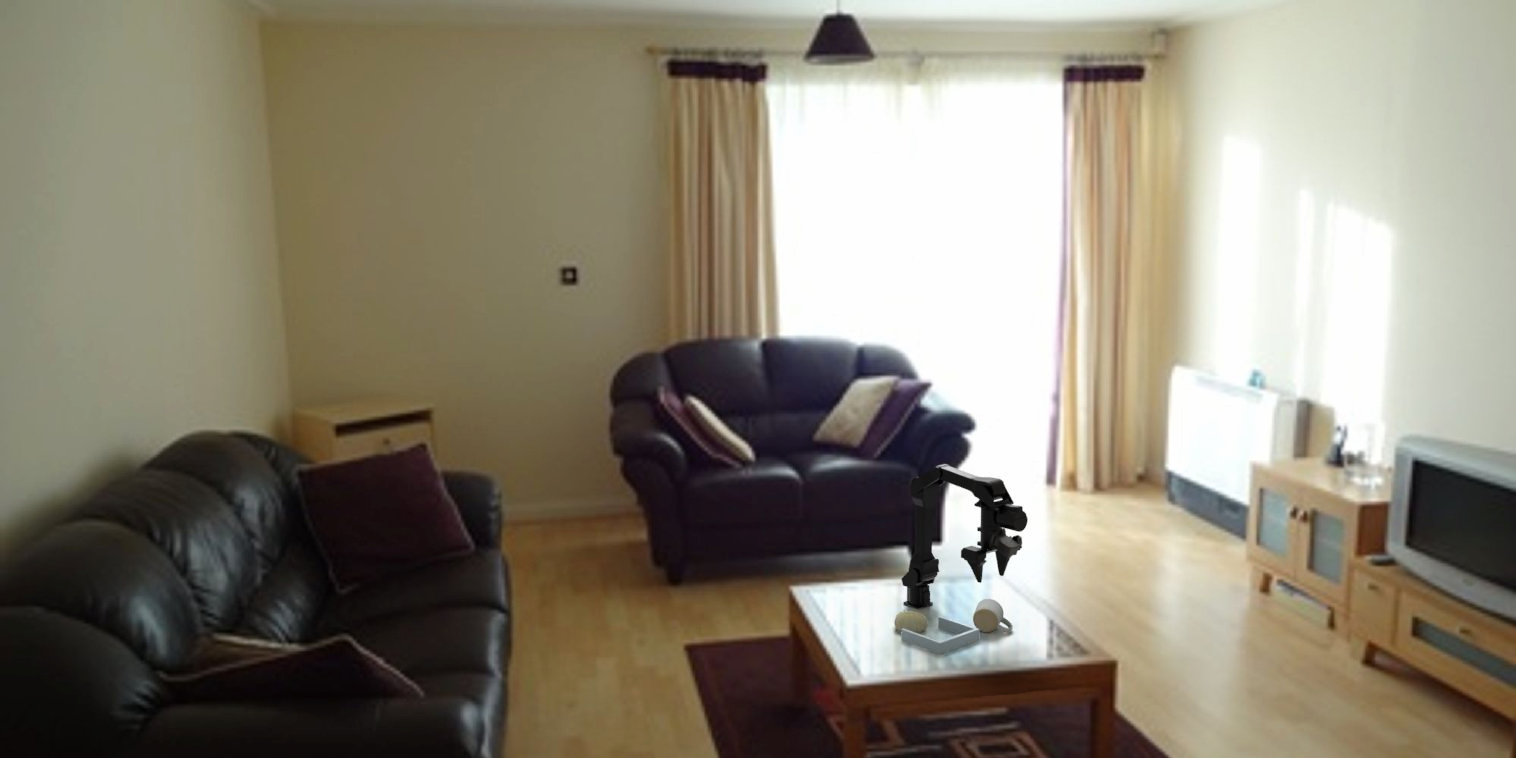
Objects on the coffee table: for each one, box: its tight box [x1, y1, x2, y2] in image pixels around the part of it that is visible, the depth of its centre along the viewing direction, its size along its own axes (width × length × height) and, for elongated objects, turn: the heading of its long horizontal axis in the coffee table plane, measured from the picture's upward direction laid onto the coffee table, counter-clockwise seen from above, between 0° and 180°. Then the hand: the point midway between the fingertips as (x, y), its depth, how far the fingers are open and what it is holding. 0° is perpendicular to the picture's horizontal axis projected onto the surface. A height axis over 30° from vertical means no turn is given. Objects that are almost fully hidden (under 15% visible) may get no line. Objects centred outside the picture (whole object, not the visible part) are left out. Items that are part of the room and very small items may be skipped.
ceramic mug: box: [972, 598, 1014, 634], centre depth 296 cm, size 11×8×8 cm
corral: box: [900, 615, 981, 655], centre depth 290 cm, size 14×16×3 cm
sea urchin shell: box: [893, 610, 929, 634], centre depth 298 cm, size 9×8×8 cm
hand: (990, 578), depth 295 cm, fingers open, 9 cm apart
